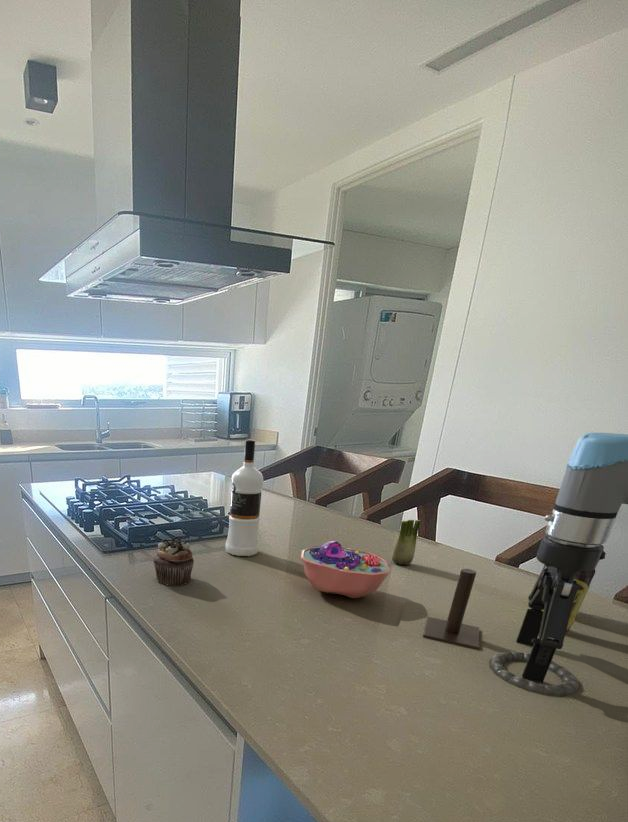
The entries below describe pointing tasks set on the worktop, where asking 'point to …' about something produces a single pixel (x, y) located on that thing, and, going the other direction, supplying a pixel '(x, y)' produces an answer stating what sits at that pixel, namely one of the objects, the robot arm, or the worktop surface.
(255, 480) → the vodka
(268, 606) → the worktop surface
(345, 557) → the cell model
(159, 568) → the cupcake
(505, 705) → the worktop surface
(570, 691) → the ring
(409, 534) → the fennel bulb
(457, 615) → the post stand
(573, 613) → the sauce bottle
